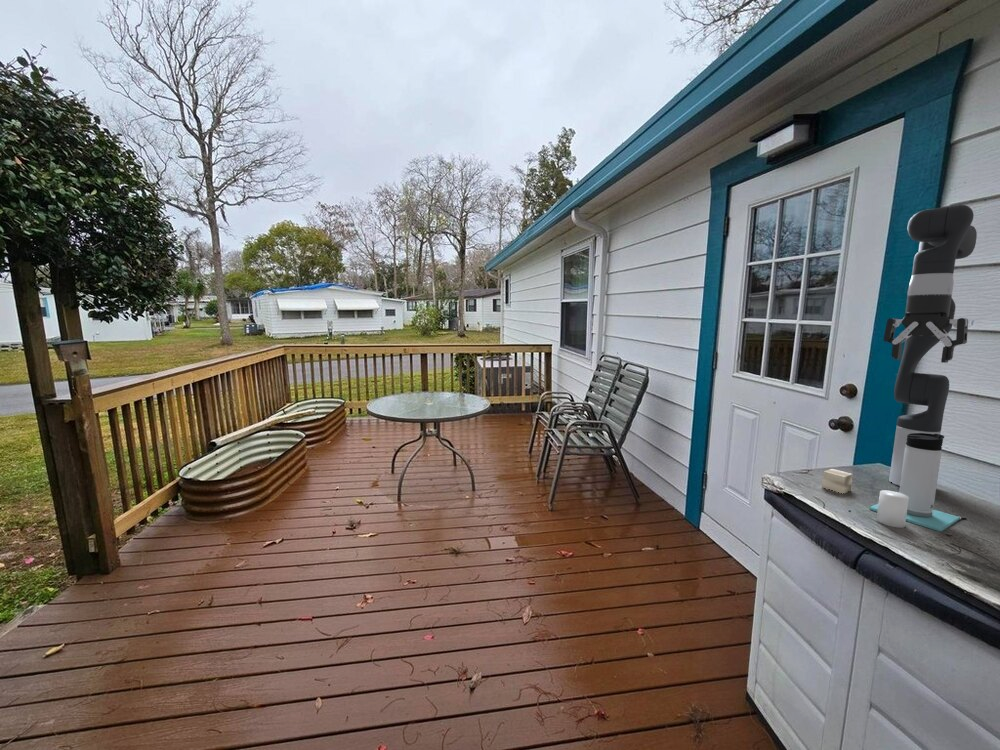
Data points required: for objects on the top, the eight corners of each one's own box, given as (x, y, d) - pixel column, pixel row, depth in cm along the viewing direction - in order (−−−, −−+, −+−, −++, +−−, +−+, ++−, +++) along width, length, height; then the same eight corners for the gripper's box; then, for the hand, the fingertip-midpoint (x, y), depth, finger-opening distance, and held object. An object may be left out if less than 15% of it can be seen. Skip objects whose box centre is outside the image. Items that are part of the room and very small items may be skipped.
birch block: (830, 485, 123) (832, 468, 123) (850, 491, 119) (852, 474, 119) (821, 488, 121) (823, 471, 120) (842, 494, 117) (844, 477, 116)
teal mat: (890, 499, 113) (890, 497, 113) (959, 519, 102) (959, 517, 102) (869, 509, 107) (869, 507, 107) (941, 531, 96) (941, 529, 96)
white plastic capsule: (881, 516, 103) (884, 488, 102) (908, 524, 99) (912, 496, 98) (872, 520, 101) (876, 492, 100) (900, 529, 96) (904, 500, 96)
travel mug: (941, 519, 101) (953, 438, 98) (908, 516, 102) (919, 436, 99) (920, 508, 107) (931, 431, 104) (890, 505, 108) (900, 429, 106)
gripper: (977, 293, 97) (966, 363, 99) (896, 296, 109) (888, 358, 111) (967, 291, 93) (956, 364, 95) (884, 294, 105) (876, 359, 107)
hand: (919, 361), depth 103 cm, fingers open, 8 cm apart
